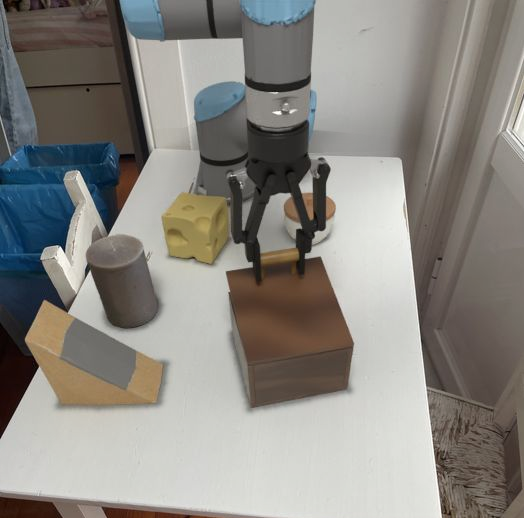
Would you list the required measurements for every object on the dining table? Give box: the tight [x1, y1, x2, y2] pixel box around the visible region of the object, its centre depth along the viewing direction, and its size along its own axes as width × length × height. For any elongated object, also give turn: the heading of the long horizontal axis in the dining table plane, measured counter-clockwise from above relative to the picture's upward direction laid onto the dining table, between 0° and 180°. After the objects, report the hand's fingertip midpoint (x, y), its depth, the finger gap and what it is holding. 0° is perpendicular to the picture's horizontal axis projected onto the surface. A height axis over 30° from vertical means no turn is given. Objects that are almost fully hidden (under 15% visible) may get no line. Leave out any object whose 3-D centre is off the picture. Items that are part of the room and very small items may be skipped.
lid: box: [225, 246, 355, 366], centre depth 71 cm, size 17×16×6 cm
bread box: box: [227, 291, 354, 409], centre depth 78 cm, size 17×16×10 cm
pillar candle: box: [85, 233, 159, 329], centre depth 86 cm, size 10×10×15 cm
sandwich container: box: [24, 299, 164, 406], centre depth 73 cm, size 9×15×15 cm, turn 90°
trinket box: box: [283, 192, 337, 246], centre depth 102 cm, size 11×11×9 cm
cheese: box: [161, 191, 230, 265], centre depth 101 cm, size 10×11×10 cm
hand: (278, 272), depth 75 cm, fingers closed on lid, 6 cm apart
